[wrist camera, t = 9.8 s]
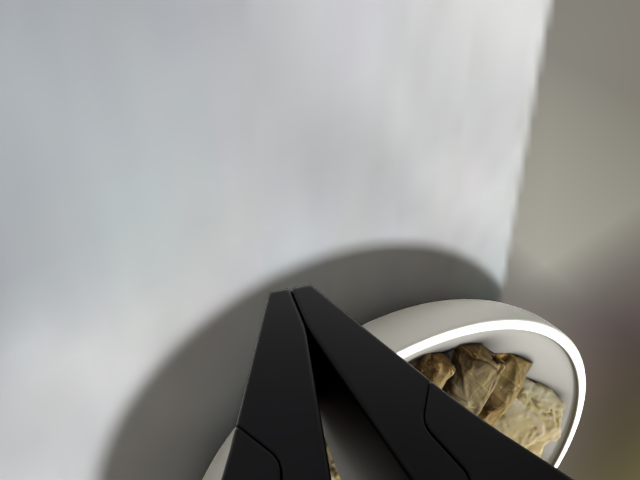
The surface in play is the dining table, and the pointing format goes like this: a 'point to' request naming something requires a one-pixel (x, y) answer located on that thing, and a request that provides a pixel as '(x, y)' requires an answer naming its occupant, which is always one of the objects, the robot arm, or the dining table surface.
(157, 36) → the dining table surface
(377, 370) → the robot arm
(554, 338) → the bowl
